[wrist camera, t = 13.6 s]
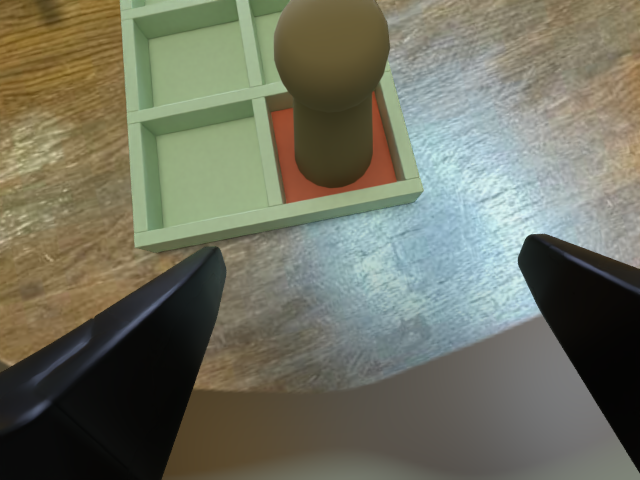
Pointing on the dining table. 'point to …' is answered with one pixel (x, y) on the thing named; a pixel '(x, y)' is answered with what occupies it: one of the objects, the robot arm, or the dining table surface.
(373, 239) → the dining table surface
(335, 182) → the cork
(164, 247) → the grid
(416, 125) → the dining table surface
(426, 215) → the dining table surface
